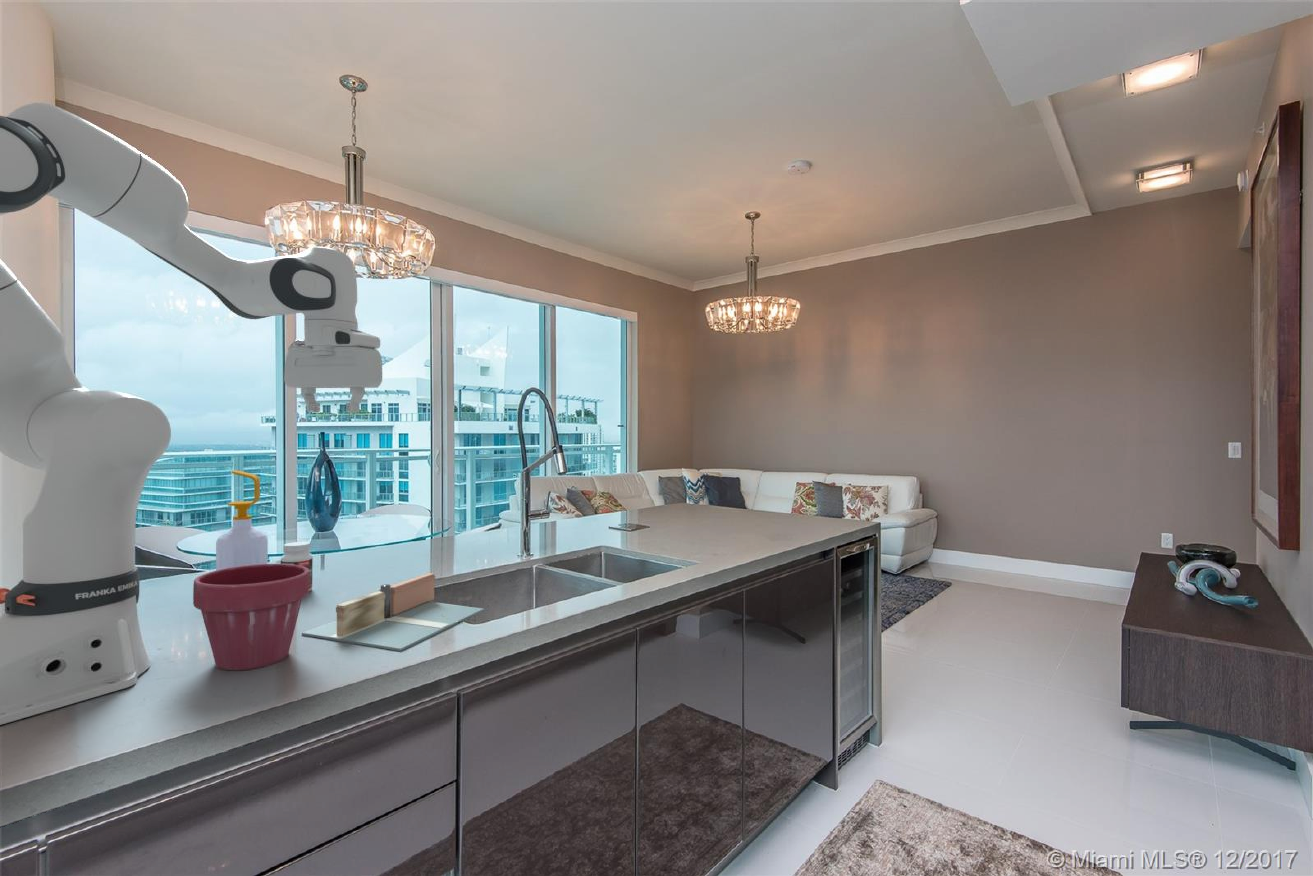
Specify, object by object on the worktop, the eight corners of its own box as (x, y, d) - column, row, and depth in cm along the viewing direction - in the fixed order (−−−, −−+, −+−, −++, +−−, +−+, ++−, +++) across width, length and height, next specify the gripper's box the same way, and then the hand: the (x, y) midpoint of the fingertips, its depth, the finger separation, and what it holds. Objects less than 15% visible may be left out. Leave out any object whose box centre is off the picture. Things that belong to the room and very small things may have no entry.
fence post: (385, 619, 108) (385, 587, 108) (378, 618, 108) (378, 586, 108) (392, 617, 109) (392, 585, 109) (384, 616, 110) (385, 584, 110)
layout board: (400, 651, 94) (400, 648, 94) (301, 635, 101) (301, 632, 101) (483, 610, 115) (483, 608, 115) (397, 599, 122) (397, 597, 122)
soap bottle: (221, 582, 132) (221, 469, 131) (270, 579, 135) (270, 468, 135) (211, 593, 123) (211, 472, 123) (264, 589, 127) (264, 471, 127)
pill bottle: (301, 595, 123) (301, 546, 123) (274, 595, 123) (274, 546, 123) (318, 588, 129) (318, 541, 129) (291, 587, 129) (291, 540, 129)
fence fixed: (344, 636, 99) (344, 606, 99) (335, 635, 100) (335, 605, 100) (385, 620, 108) (385, 592, 108) (376, 619, 108) (377, 591, 108)
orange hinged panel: (394, 615, 110) (394, 587, 110) (386, 614, 110) (386, 586, 110) (434, 598, 120) (435, 573, 120) (427, 598, 121) (427, 572, 121)
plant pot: (312, 636, 100) (312, 559, 100) (304, 668, 87) (304, 579, 87) (206, 649, 94) (206, 566, 94) (180, 685, 81) (180, 590, 81)
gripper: (274, 338, 114) (275, 411, 115) (361, 334, 108) (362, 413, 109) (303, 341, 120) (304, 411, 121) (387, 338, 114) (388, 412, 115)
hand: (332, 412), depth 115 cm, fingers open, 8 cm apart
